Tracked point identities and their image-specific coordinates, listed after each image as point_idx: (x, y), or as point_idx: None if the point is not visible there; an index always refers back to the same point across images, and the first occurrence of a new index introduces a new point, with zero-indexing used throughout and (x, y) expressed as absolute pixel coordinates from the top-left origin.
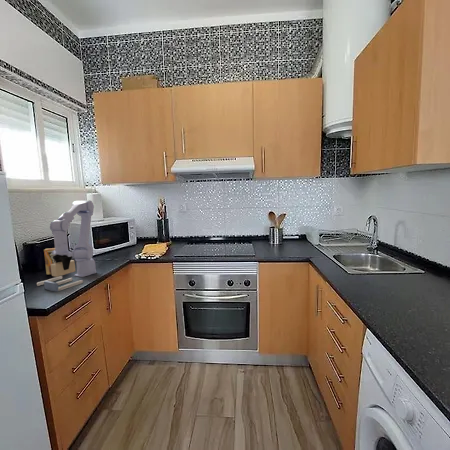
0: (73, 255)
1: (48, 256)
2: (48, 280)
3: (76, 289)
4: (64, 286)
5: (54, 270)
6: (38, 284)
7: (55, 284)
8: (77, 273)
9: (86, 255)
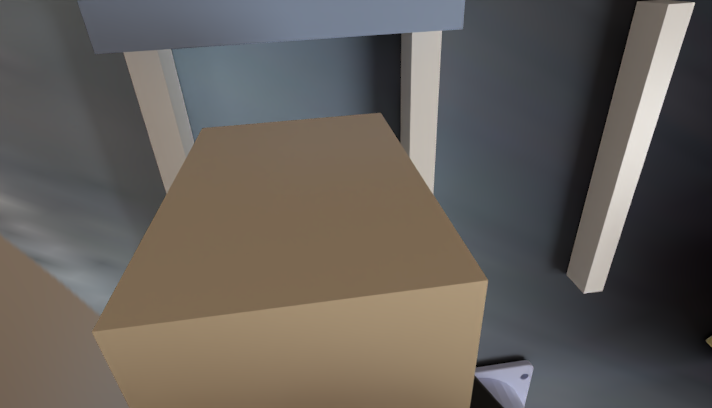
0: None
1: None
2: (621, 148)
3: (2, 188)
4: (150, 133)
5: (241, 186)
6: (648, 11)
7: (83, 5)
8: (498, 391)
9: None
